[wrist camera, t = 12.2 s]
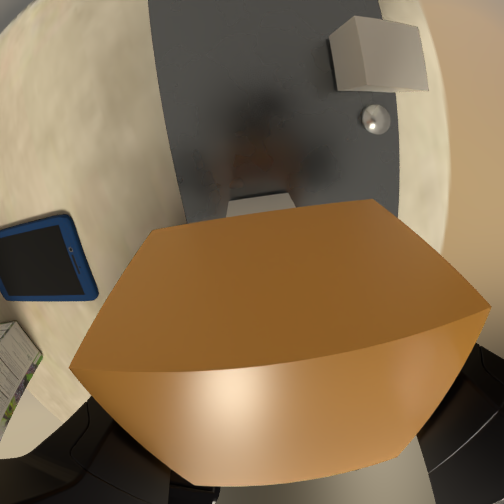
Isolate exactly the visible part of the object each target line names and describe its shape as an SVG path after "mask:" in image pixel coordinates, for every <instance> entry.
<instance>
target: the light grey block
mask: <svg viewBox="0 0 504 504" xmlns="http://www.w3.org/2000/svg"><path fill="white" fill-rule="evenodd" d="M289 208H296V206H295V205H294V203H293V201H292V199H291V197H290V195H289V193H283V194H275V195H268V196H260V197H253V198H246V199H240V200H233V201H229V203H228V209H227V215H226V217H233V216H239V215H246V214H253V213H260V212H267V211H274V210H282V209H289Z"/></svg>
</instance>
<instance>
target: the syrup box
mask: <svg viewBox="0 0 504 504" xmlns="http://www.w3.org/2000/svg"><path fill="white" fill-rule="evenodd" d="M42 359H43V355H42V354H41V353H40V352H39V350H38V349H37V348H36V347H35V345H34V344H33V343H32V341H31V340H30V339H29V338H28V336H27V335H26V334H25V332H24V331H23V330H22V328H21V327H20V326H19V324H18V323H17V321H12V322H7V323H1V324H0V441H1V438H2V436H3V434H4V431H5V429H6V427H7V425H8V422H9V420H10V418H11V416H12V414H13V412H14V410H15V408H16V406H17V404H18V402H19V400H20V398H21V396H22V394H23V392H24V390H25V388H26V387H27V385H28V383H29V381H30V379H31V378H32V376H33V374H34V372H35V371H36V369H37V367H38V365H39V364H40V362H41V360H42Z"/></svg>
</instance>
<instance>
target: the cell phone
mask: <svg viewBox="0 0 504 504" xmlns="http://www.w3.org/2000/svg"><path fill="white" fill-rule="evenodd" d="M0 291H1V293H2V295H3V297H4V298H5V299H6V300H8V301H92V300H95V299H96V298H97V297H98V295H99V292H98V288H97V286H96V283H95V281H94V278H93V276H92V273H91V271H90V268H89V265H88V263H87V260H86V257H85V254H84V252H83V249H82V246H81V243H80V240H79V237H78V234H77V231H76V227H75V225H74V222H73V220H72V218H71V217H70V216H69V215H67V214H63V215H56V216H51V217H47V218H43V219H39V220H35V221H31V222H27V223H24V224H20V225H16V226H13V227H9V228H6V229H2V230H0Z"/></svg>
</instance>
